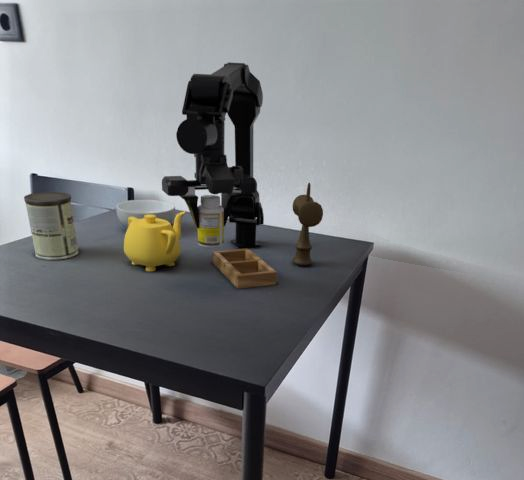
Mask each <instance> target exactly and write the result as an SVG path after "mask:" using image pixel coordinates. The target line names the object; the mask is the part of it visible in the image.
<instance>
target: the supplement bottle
mask: <svg viewBox="0 0 524 480" xmlns="http://www.w3.org/2000/svg"><path fill="white" fill-rule="evenodd" d="M198 215H199V228H197V243H198V245H199V246H200V247H202V248H204V249H219V248H221V247H223V245H224V242H225V241H224V240H225V236H224V235H225V233H224V232H225V226H224V208H223V207H222V206H221V196H219V195H217V194H204V195H203V194H202V195H201V196H200V204H199V205H198Z"/></svg>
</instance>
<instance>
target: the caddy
mask: <svg viewBox="0 0 524 480" xmlns="http://www.w3.org/2000/svg"><path fill="white" fill-rule="evenodd" d="M212 264H213V265H214V266H215V267H216V268H217V269H218V270H219V271H220V272H221V273H222V274H223V275H224V276H225V277H226V279H227V280H228V281H229V282H230V283H231V284H232V285H234V287H236V289H237V290H240V289H247V288H256V287H257V288H258V287H265V286H273V285H274V286H275V285H277V276H278V272H277V270H275V269H274V268H273V267H272V266H271V265H269V264H268V263H267V262H266V261H264V260H263V259H262V258H260V257H259V256H258V255H257V254H255V252H253V251H252V250H251V249H249V248H237V249H225V250H215V251H212Z"/></svg>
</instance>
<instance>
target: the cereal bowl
mask: <svg viewBox="0 0 524 480" xmlns="http://www.w3.org/2000/svg"><path fill="white" fill-rule="evenodd" d="M115 209H116V215H117V218H118V220H119V221H120V223H121V224H123V226H125V227H127V228H128V227H129V224H128V218H129V217H135V218H137V219H142V218H145V217H144V216H145V215H148V214H153V215H156V218H159V219H163V220H166V221H168V222H169V223H170V224H171V225H172V224H173V223H174V220H175V217H176V206H175V204H173V203H172V202H168V201H164V200H156V199H130V200H125V201H122V202H119V203H116V206H115Z"/></svg>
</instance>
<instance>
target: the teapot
mask: <svg viewBox="0 0 524 480" xmlns="http://www.w3.org/2000/svg"><path fill="white" fill-rule="evenodd" d="M185 214H186V210H183V211H181V212H177V214H175V217H174V220H173V225H172V223H171V224H170V223H169V222H168V221H166V220H163V219H159V218H156V215H153V214H148V215H145V216H144V217H145V218H142V219H137V218H135V217H129V218H128V224H129V227H127V229H126V232H125V235H124V239H123V252H124V254H125V256H126V257H127V258H128V259H129V260H130V261H131V264H132V265H133V266H139V265H140V266H145V271H146V272H154V271H156V267H158V266H163V265H165V266H166V267H173V266H175V265H176V264H175V261H177V260H178V259H179V257H180V255H181V254H182V253H181V252H182V248H181V244H180V240H181V236H182V218H183V216H184V215H185Z"/></svg>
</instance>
